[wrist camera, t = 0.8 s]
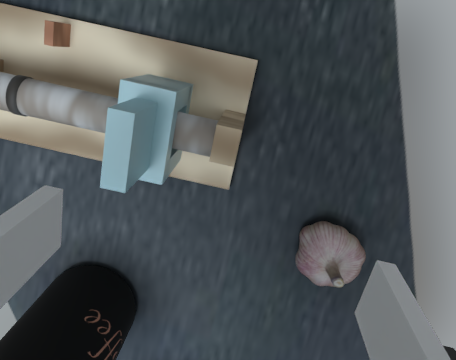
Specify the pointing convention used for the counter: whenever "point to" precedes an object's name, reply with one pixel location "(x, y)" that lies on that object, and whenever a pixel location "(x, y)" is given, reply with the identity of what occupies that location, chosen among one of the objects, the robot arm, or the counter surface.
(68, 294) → the coffee jar
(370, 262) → the counter surface
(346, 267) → the garlic bulb
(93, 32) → the pipe stand
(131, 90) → the collar
